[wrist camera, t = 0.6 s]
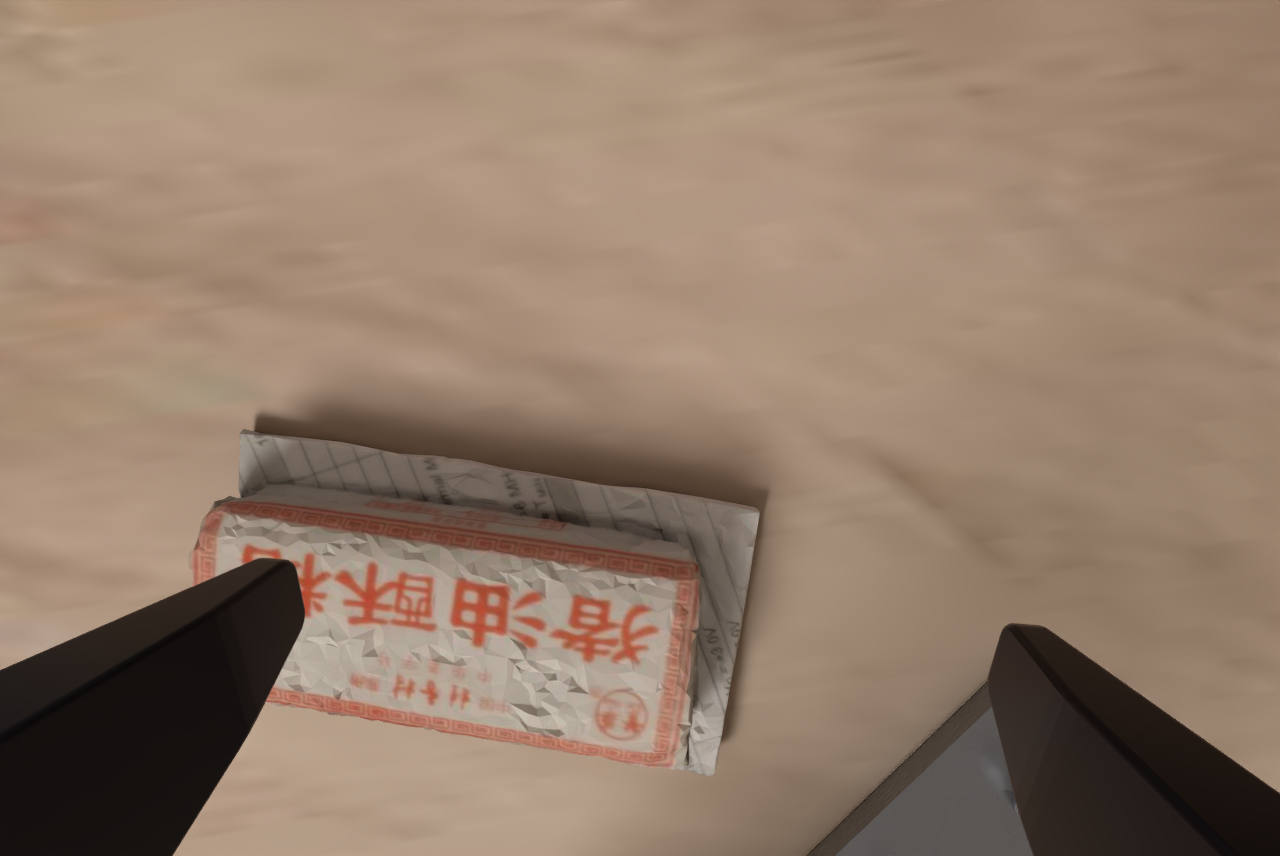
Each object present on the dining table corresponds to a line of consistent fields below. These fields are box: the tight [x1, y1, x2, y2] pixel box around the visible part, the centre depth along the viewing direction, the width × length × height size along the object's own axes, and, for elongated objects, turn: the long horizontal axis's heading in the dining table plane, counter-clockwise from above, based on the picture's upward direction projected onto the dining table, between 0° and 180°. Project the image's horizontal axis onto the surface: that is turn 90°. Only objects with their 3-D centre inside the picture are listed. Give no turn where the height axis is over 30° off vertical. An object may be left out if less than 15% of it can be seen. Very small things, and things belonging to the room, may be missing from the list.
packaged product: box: [189, 429, 760, 776], centre depth 23 cm, size 18×5×10 cm
